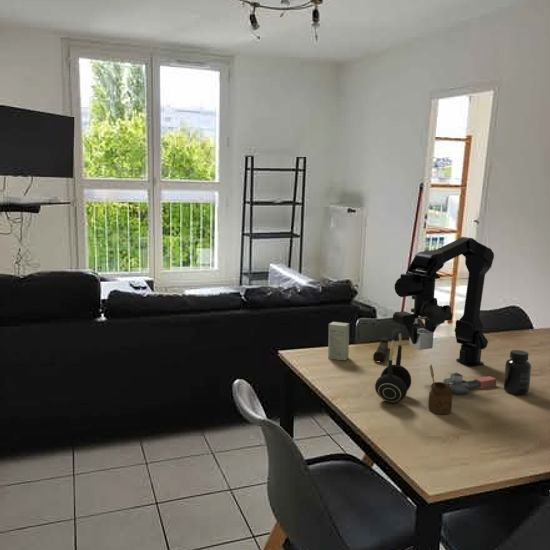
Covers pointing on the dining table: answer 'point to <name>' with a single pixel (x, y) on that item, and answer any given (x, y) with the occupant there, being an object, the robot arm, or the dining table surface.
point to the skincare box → (338, 341)
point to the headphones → (394, 376)
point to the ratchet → (468, 383)
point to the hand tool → (381, 350)
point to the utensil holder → (440, 396)
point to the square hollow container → (423, 339)
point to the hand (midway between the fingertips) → (420, 342)
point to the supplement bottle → (517, 373)
